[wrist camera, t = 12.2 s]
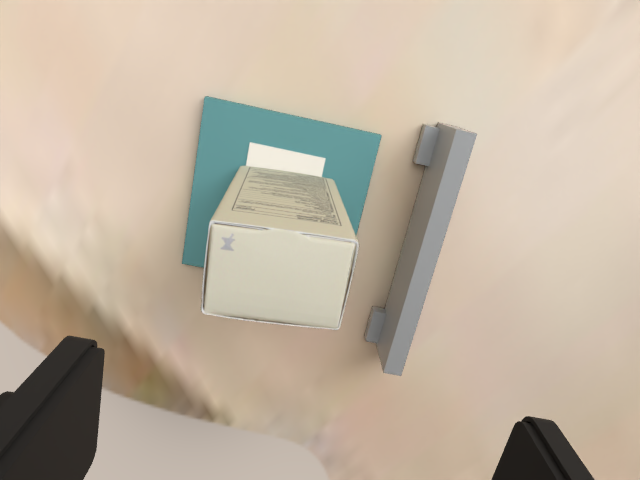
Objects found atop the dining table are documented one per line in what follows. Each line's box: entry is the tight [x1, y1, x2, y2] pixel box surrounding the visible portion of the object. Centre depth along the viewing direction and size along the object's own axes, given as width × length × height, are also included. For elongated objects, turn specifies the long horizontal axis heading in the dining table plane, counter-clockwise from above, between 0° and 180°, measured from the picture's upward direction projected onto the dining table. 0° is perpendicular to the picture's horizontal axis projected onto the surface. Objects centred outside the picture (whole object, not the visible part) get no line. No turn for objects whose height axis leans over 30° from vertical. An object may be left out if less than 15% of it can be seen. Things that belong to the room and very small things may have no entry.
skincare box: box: [201, 166, 359, 330], centre depth 26 cm, size 6×4×12 cm
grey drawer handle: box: [364, 122, 477, 376], centre depth 32 cm, size 3×16×4 cm, turn 168°
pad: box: [182, 96, 381, 268], centre depth 32 cm, size 11×11×1 cm
